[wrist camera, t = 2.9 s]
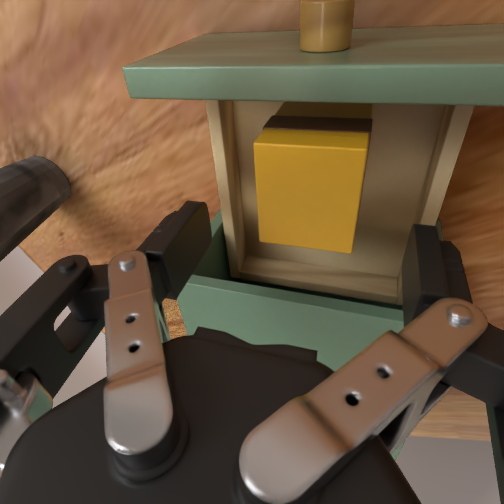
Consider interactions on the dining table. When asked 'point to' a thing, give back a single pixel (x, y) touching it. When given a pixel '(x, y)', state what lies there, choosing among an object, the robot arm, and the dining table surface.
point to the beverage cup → (28, 198)
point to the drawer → (336, 91)
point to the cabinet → (282, 310)
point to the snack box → (312, 174)
